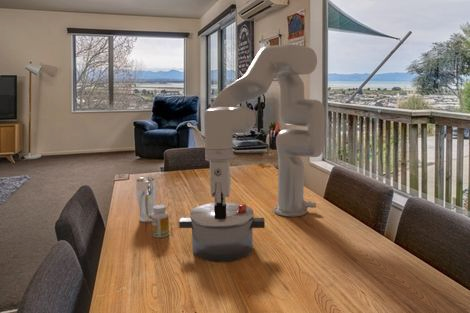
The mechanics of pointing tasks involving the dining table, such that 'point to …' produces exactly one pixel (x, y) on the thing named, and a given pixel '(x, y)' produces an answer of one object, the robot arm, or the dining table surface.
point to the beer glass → (146, 197)
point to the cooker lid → (234, 217)
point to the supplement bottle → (160, 221)
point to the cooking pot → (222, 240)
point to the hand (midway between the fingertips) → (220, 217)
